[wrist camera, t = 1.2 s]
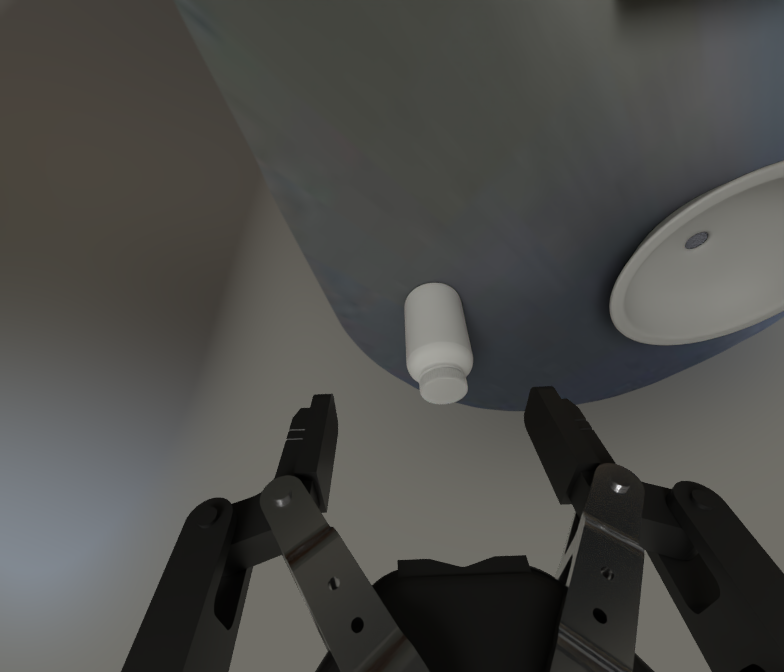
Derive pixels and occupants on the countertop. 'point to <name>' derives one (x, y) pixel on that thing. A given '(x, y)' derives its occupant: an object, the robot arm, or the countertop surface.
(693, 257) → the soup bowl
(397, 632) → the robot arm
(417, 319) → the pill bottle
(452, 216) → the countertop surface
